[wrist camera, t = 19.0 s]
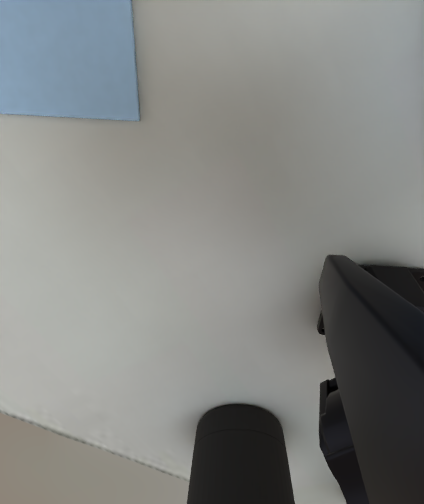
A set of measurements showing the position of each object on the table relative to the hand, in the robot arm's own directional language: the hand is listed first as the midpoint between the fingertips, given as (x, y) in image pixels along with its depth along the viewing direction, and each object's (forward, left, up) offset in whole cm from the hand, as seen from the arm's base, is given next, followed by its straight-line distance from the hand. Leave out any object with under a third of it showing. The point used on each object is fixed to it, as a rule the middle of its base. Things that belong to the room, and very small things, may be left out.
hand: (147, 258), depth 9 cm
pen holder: (-30, -5, -13) cm, 33 cm away
